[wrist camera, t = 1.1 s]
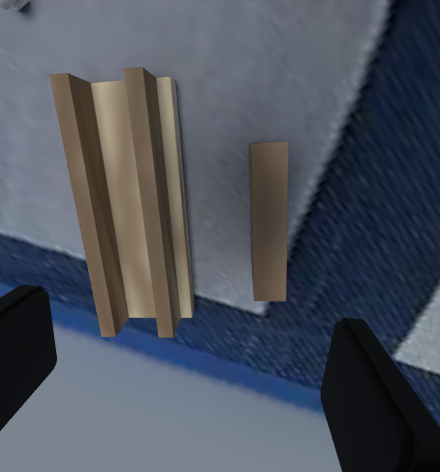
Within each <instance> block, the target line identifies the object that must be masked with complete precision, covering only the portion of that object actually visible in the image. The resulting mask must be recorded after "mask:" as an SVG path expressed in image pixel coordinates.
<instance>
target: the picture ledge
mask: <svg viewBox="0 0 440 472" xmlns="http://www.w3.org/2000/svg"><path fill="white" fill-rule="evenodd" d="M123 69H124V77H125V80H124V81H111V82H98V83H89V82H87V81H85V80H82V79H80V78H78V77H75V76H73V75H71V74H69V73H63V74H51V75H50V80H51V85H52V90H53V95H54V100H55V105H56V110H57V115H58V120H59V125H60V130H61V135H62V140H63V145H64V150H65V155H66V160H67V165H68V170H69V175H70V180H71V185H72V190H73V195H74V200H75V205H76V210H77V215H78V220H79V225H80V230H81V235H82V240H83V245H84V250H85V255H86V260H87V265H88V270H89V275H90V280H91V285H92V290H93V295H94V300H95V305H96V310H97V315H98V320H99V325H100V330H101V335H102V337H116V336H117V334H118V333H119V332H120V330H121V329H122V327H123V326H124V324H125V323H126V321H127V320H128V318H156V319H157V327H158V335H159V337H174V335H175V332H176V329H177V327H178V324H179V321H180V319H181V318H192V316H193V313H194V310H195V303H194V291H193V280H192V268H191V257H190V245H189V233H188V222H187V210H186V198H185V187H184V175H183V164H182V152H181V140H180V129H179V117H178V105H177V94H176V82H175V81H174V80H173V79H172V78H171V77H162V78H156V77H154V76H153V75H152V74H151V73H149V72H148V71H147V70H146V69H144V68H143V67H136V68H123Z"/></svg>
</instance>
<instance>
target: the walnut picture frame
mask: <svg viewBox="0 0 440 472" xmlns="http://www.w3.org/2000/svg"><path fill="white" fill-rule="evenodd" d="M288 155H289V141H287V142H269V143H251V144H250V145H249V162H250V212H251V260H252V276H253V292H254V301H286V266H287V211H288Z"/></svg>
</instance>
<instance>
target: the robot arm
mask: <svg viewBox="0 0 440 472" xmlns="http://www.w3.org/2000/svg"><path fill="white" fill-rule="evenodd" d="M56 362H57V355H56V347H55V339H54V332H53V324H52V316H51V309H50V301H49V295H48V293H47V292H46V291H45V290H44V288H43V287H41V286H32V285H21V286H19V287H17V288H15V289H14V290H12V291H11V292H9V293H7V294H6V295H4V296H2V297H1V298H0V431H1V430H2V428H3V427H4V426H5V425H6V424H7V423H8V421H9V420H10V419H11V418H12V417H13V416H14V415H15V413H16V412H17V411H18V410H19V409H20V408H21V406H22V405H23V404H24V403H25V402H26V400H27V399H28V398H29V397H30V396H31V395H32V394H33V393H34V391H35V390H36V389H37V388H38V386H40V384H41V383H42V382H43V381H44V380H45V379H46V377H47V376H48V375H49V374H50V373H51V371H52V370H53V369H54V367H55V365H56ZM321 402H322V406H323V409H324V412H325V416H326V419H327V422H328V426H329V429H330V432H331V436H332V439H333V442H334V446H335V449H336V452H337V455H338V459H339V462H340V466H341V469H342V472H440V427H439V426H438V425H437V423H436V422H435V420H434V419H433V417H432V416H431V415H430V413H429V412H428V410H427V409H426V407H425V406H424V404H423V403H422V402H421V400H420V399H419V397H418V396H417V394H416V393H415V392H414V390H413V389H412V387H411V386H410V384H409V383H408V381H407V380H406V379H405V377H404V376H403V374H402V373H401V372H400V371H399V369H398V368H397V366H396V365H395V364H394V362H393V361H392V359H391V358H390V356H389V355H388V353H387V352H386V351H385V349H384V348H383V346H382V345H381V343H380V342H379V340H378V339H377V338H376V336H375V335H374V333H373V332H372V330H371V329H370V327H369V326H368V325H367V323H366V322H365V321H364V320H363V319H355V318H345V317H344V318H342V320H341V322H338V321H337V322H336V323H335V326H334V331H333V336H332V340H331V345H330V349H329V354H328V359H327V363H326V368H325V372H324V377H323V382H322V386H321Z"/></svg>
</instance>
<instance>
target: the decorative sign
mask: <svg viewBox="0 0 440 472" xmlns="http://www.w3.org/2000/svg"><path fill="white" fill-rule="evenodd" d="M28 2H29V0H0V7H2V8H4V9H9V8H10V7H11V6H12V7H13V8H14V9H15V10H16V11H17V12H18V11H19V10H20V9H21V8H23V7H24V6H25V5H26V4H27V3H28Z"/></svg>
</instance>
